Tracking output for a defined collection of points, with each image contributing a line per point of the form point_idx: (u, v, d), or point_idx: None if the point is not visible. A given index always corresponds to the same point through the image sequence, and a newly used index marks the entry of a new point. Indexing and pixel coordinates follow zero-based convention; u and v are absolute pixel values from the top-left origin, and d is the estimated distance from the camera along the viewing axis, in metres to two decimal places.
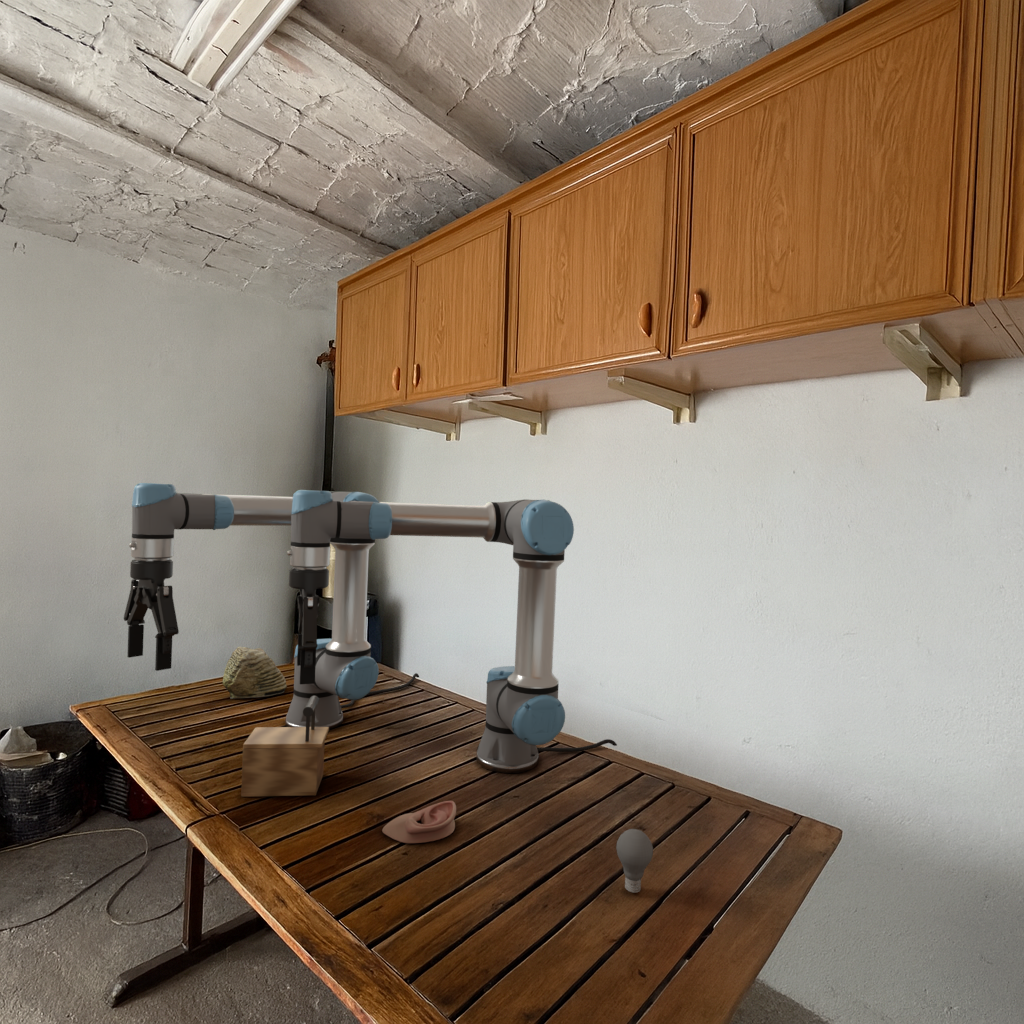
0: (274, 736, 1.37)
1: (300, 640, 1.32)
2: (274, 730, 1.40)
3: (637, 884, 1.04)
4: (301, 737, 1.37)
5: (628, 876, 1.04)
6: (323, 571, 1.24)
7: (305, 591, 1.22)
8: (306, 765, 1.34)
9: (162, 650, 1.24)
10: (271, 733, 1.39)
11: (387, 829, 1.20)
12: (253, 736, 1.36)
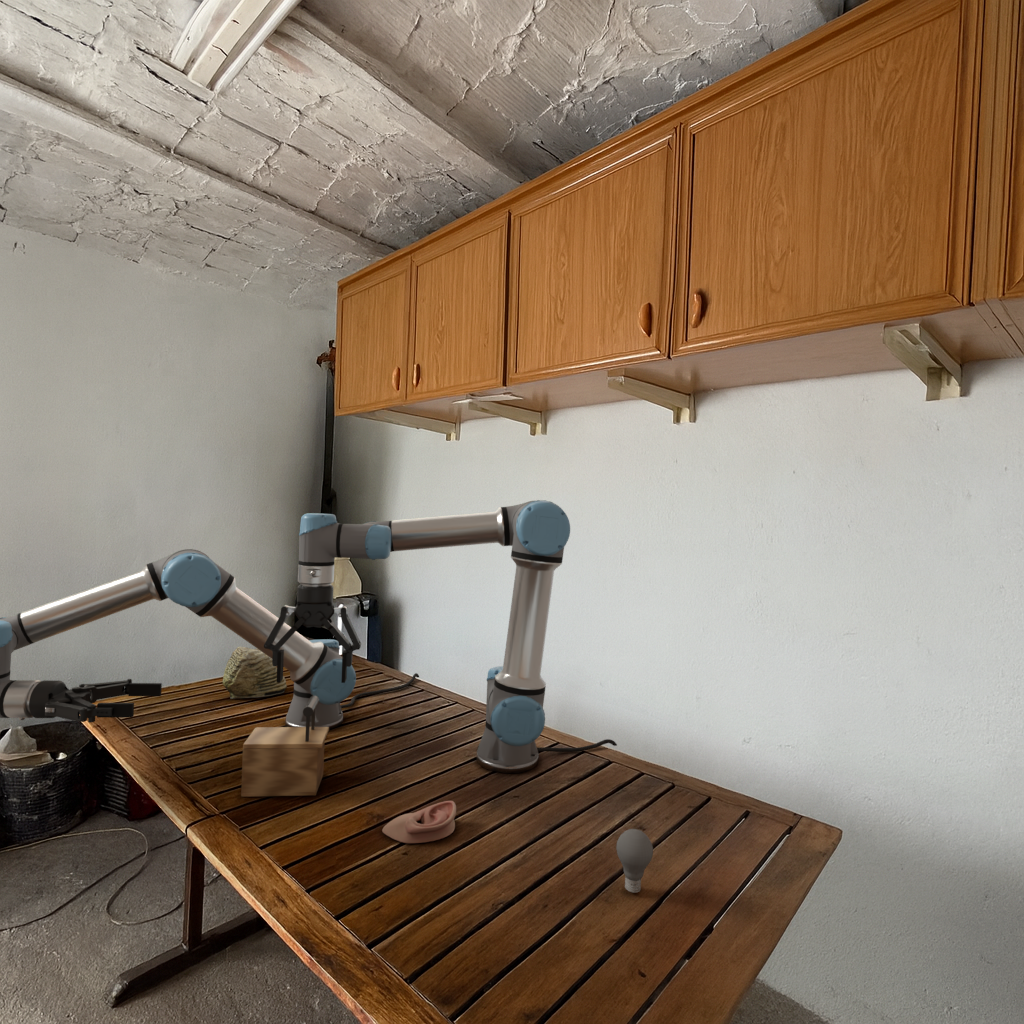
0: (274, 736, 1.37)
1: (281, 657, 1.37)
2: (274, 730, 1.40)
3: (637, 884, 1.04)
4: (301, 737, 1.37)
5: (628, 876, 1.04)
6: None
7: (331, 604, 1.38)
8: (306, 765, 1.34)
9: None
10: (271, 733, 1.39)
11: (387, 829, 1.20)
12: (253, 736, 1.36)
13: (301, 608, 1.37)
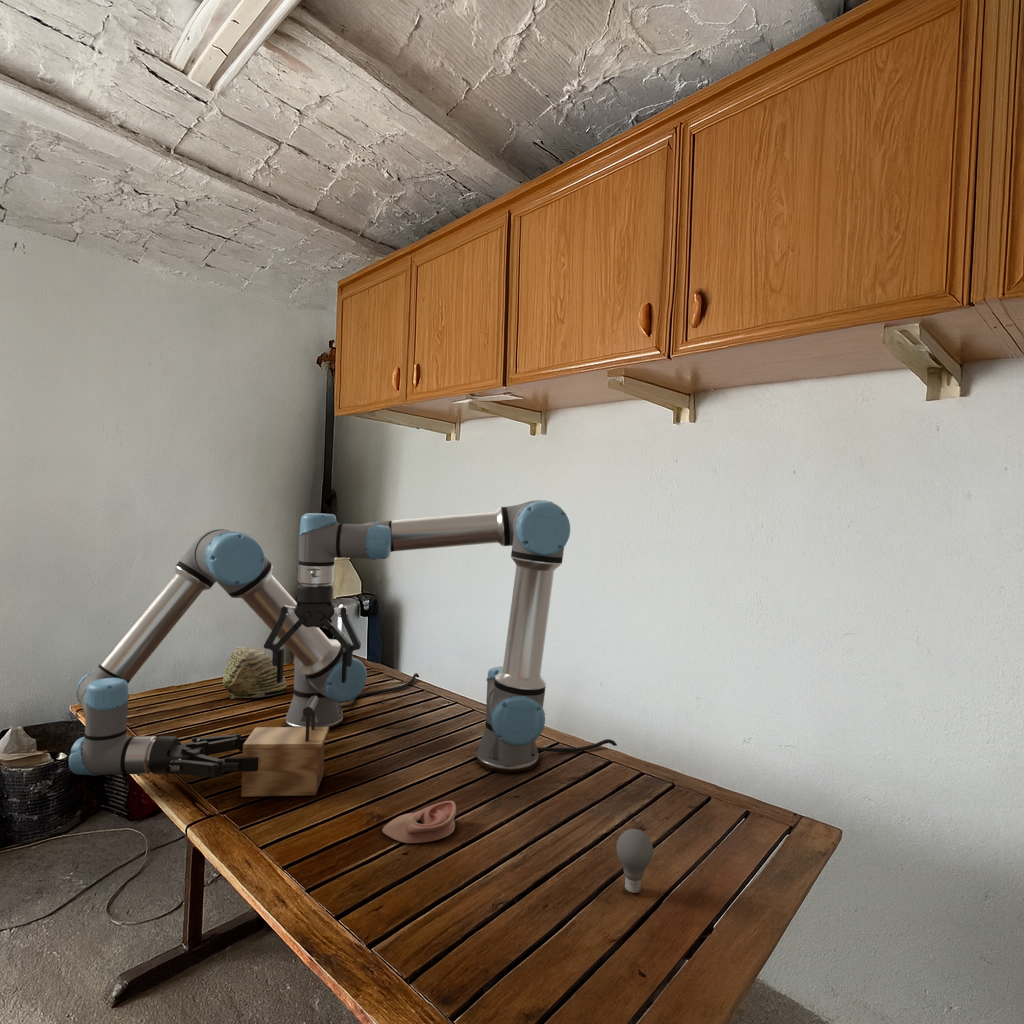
0: (274, 736, 1.37)
1: (281, 657, 1.37)
2: (274, 730, 1.40)
3: (637, 884, 1.04)
4: (301, 737, 1.37)
5: (628, 876, 1.04)
6: None
7: (331, 604, 1.38)
8: (306, 765, 1.34)
9: None
10: (271, 733, 1.39)
11: (387, 829, 1.20)
12: (253, 736, 1.36)
13: (301, 608, 1.37)
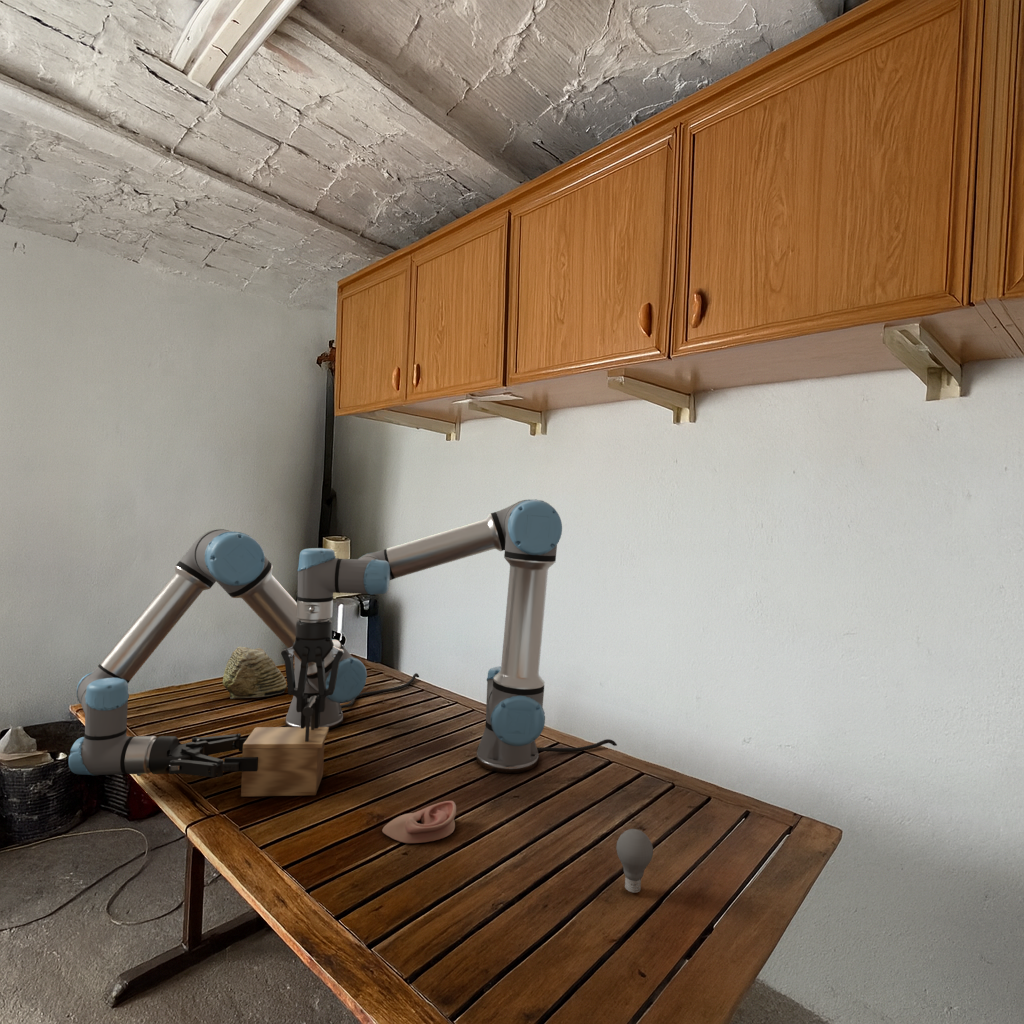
0: (274, 736, 1.37)
1: (305, 703, 1.38)
2: (273, 730, 1.40)
3: (637, 884, 1.04)
4: (301, 737, 1.37)
5: (628, 876, 1.04)
6: None
7: (330, 639, 1.38)
8: (305, 765, 1.34)
9: None
10: (271, 733, 1.39)
11: (387, 829, 1.20)
12: (253, 736, 1.36)
13: (298, 643, 1.37)
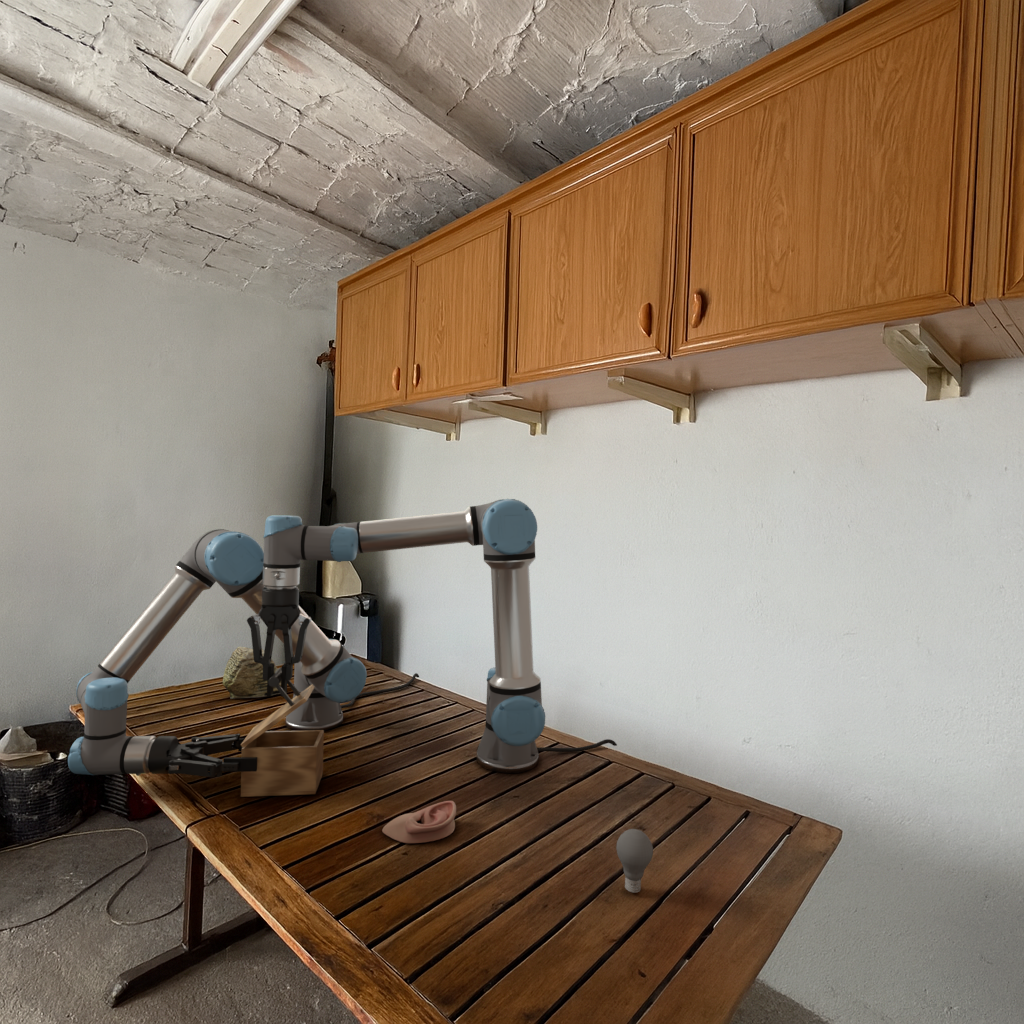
0: (267, 721, 1.37)
1: (271, 671, 1.36)
2: (267, 718, 1.40)
3: (637, 884, 1.04)
4: (288, 706, 1.37)
5: (628, 876, 1.04)
6: None
7: (296, 606, 1.37)
8: (305, 764, 1.34)
9: None
10: (264, 721, 1.38)
11: (387, 829, 1.20)
12: (249, 734, 1.36)
13: (264, 610, 1.36)
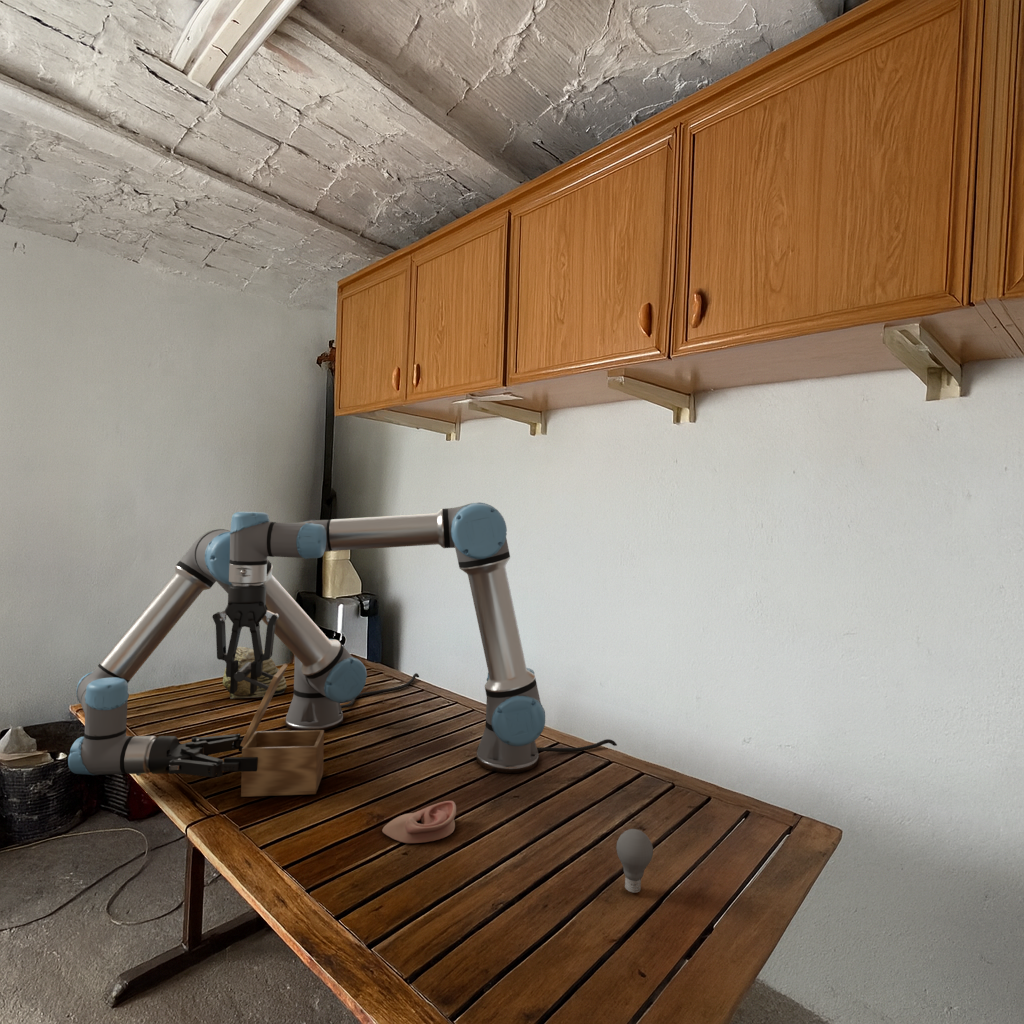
0: None
1: (235, 668, 1.35)
2: None
3: (637, 884, 1.04)
4: None
5: (628, 876, 1.04)
6: None
7: (263, 604, 1.36)
8: (305, 764, 1.34)
9: None
10: None
11: (387, 829, 1.20)
12: None
13: (230, 607, 1.35)
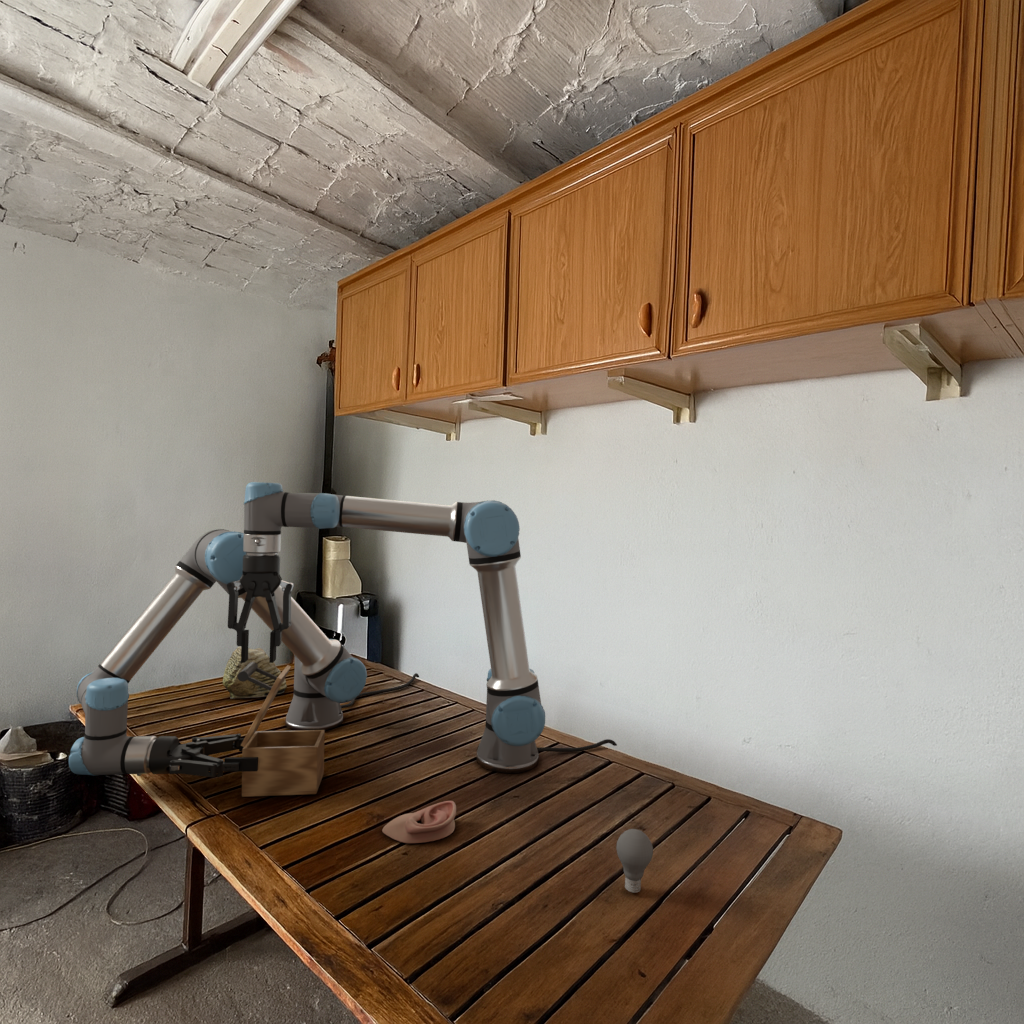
0: None
1: (245, 637, 1.35)
2: None
3: (637, 884, 1.04)
4: None
5: (628, 876, 1.04)
6: None
7: (277, 574, 1.36)
8: (306, 764, 1.34)
9: None
10: None
11: (387, 829, 1.20)
12: None
13: (245, 577, 1.35)
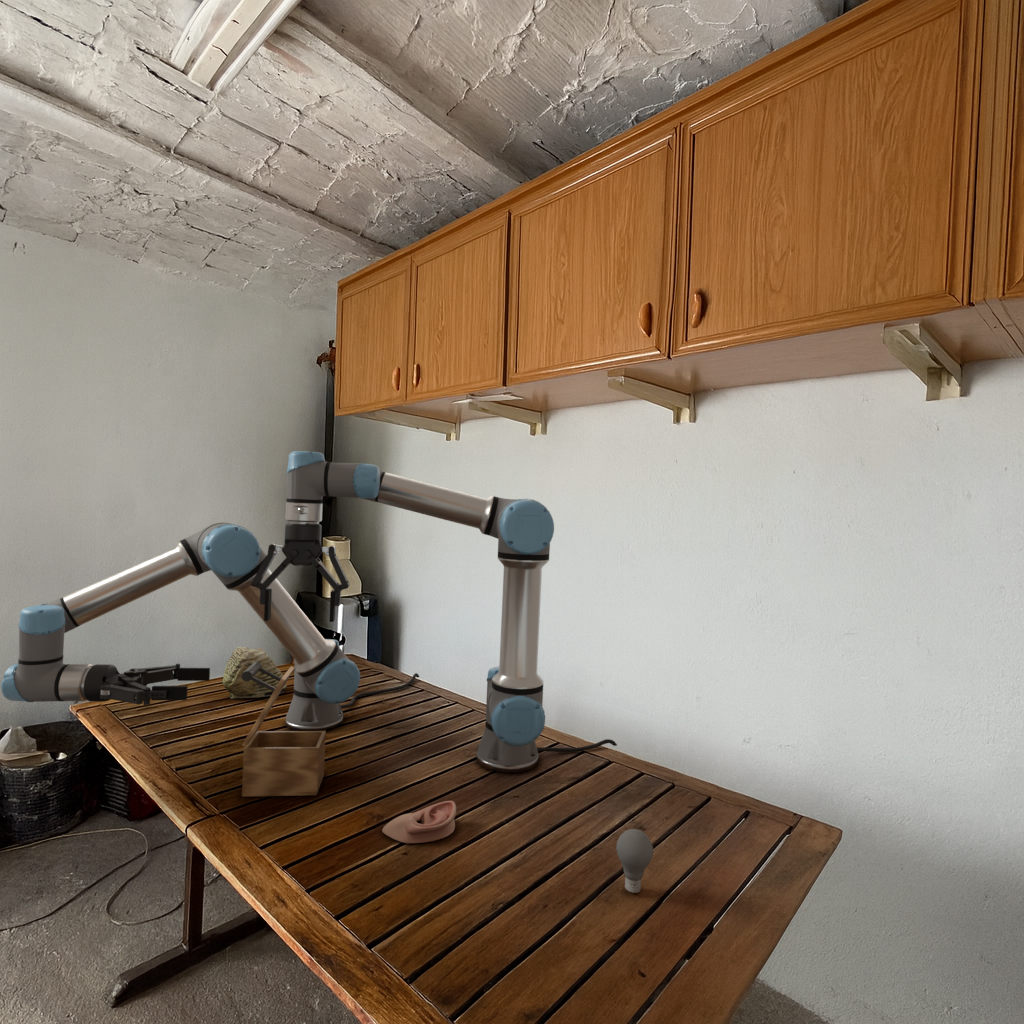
0: None
1: (269, 596, 1.36)
2: None
3: (637, 884, 1.04)
4: None
5: (628, 876, 1.04)
6: None
7: (319, 543, 1.37)
8: (306, 765, 1.34)
9: None
10: None
11: (387, 829, 1.20)
12: None
13: (289, 546, 1.36)
